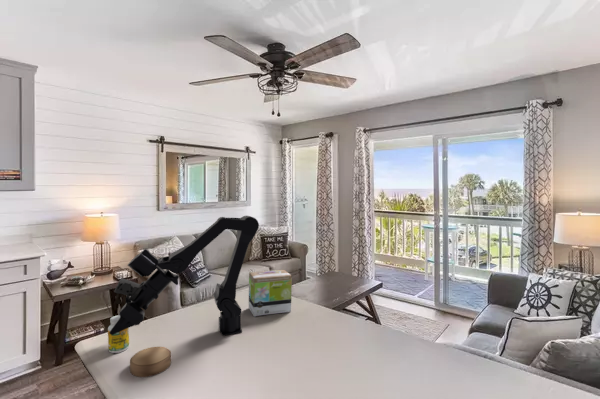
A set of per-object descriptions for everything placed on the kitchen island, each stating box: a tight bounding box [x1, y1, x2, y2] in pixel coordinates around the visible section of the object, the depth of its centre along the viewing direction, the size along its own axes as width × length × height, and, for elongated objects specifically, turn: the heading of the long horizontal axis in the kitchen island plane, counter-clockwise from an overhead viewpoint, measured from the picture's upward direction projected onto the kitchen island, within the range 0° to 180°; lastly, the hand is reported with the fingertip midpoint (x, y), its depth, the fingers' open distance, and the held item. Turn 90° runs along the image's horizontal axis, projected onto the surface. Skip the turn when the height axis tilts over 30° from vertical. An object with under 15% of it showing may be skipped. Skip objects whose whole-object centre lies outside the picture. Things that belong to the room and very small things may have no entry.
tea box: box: [248, 269, 293, 317], centre depth 125 cm, size 15×10×15 cm
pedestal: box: [129, 346, 172, 378], centre depth 86 cm, size 10×10×3 cm
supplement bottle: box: [107, 315, 130, 354], centre depth 95 cm, size 5×5×10 cm
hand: (113, 327), depth 94 cm, fingers open, 9 cm apart
